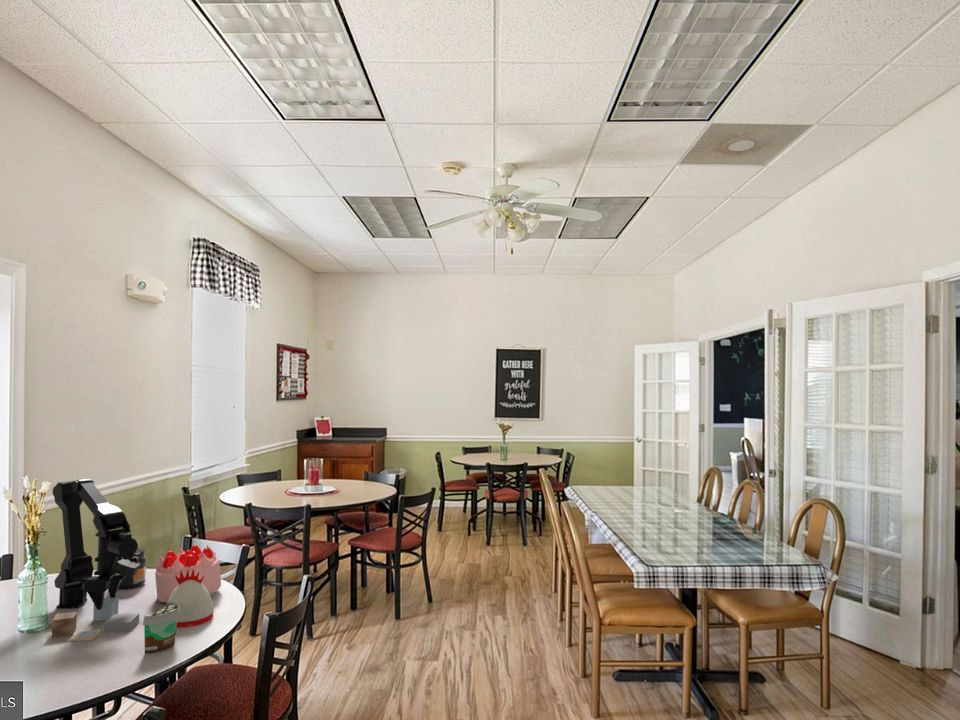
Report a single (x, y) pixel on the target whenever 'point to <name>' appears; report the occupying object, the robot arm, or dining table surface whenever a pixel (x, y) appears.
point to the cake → (185, 561)
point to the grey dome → (191, 600)
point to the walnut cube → (64, 624)
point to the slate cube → (106, 609)
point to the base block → (121, 622)
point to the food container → (161, 628)
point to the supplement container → (140, 575)
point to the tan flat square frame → (85, 635)
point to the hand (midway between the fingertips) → (106, 604)
